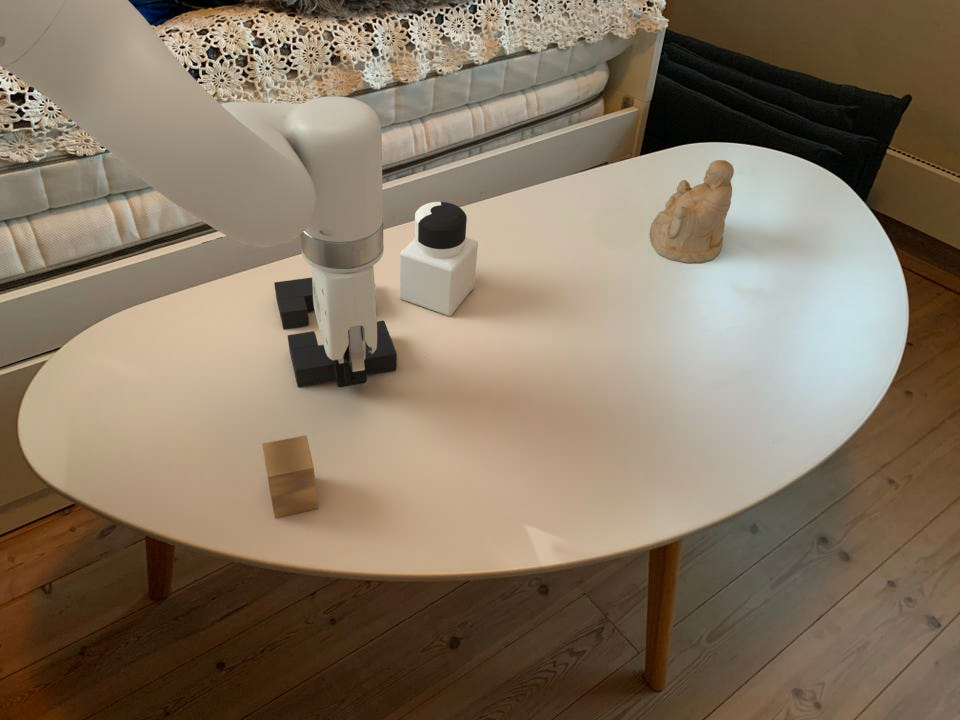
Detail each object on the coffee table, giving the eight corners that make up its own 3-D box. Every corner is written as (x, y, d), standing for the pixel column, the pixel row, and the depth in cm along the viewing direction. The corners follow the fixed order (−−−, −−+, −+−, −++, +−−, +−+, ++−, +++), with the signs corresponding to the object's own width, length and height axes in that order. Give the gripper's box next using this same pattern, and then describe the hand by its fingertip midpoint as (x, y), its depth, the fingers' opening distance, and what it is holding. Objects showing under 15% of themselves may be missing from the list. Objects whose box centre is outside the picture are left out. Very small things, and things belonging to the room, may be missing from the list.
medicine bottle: (475, 287, 99) (482, 205, 91) (450, 318, 95) (455, 234, 86) (425, 270, 101) (428, 189, 93) (398, 299, 96) (398, 216, 88)
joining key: (274, 518, 71) (267, 476, 67) (269, 485, 74) (261, 443, 70) (318, 509, 72) (313, 467, 68) (311, 476, 75) (306, 434, 71)
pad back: (283, 329, 91) (281, 312, 89) (276, 298, 95) (274, 282, 93) (375, 315, 94) (375, 299, 92) (365, 286, 98) (364, 270, 96)
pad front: (297, 387, 84) (295, 370, 82) (289, 351, 88) (287, 334, 86) (397, 370, 87) (397, 353, 85) (384, 336, 91) (384, 320, 89)
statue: (774, 204, 99) (705, 173, 98) (713, 284, 109) (649, 257, 107) (760, 160, 109) (697, 131, 107) (705, 237, 118) (646, 212, 116)
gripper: (289, 199, 75) (305, 341, 88) (314, 291, 65) (328, 437, 77) (365, 191, 77) (370, 331, 90) (401, 279, 67) (401, 423, 79)
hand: (350, 380), depth 84 cm, fingers closed
